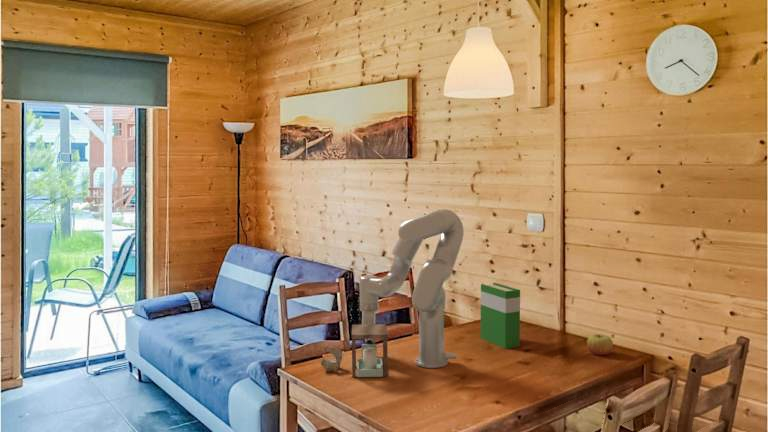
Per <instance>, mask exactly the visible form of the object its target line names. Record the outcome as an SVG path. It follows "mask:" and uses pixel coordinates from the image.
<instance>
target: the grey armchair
mask: <svg viewBox="0 0 768 432" xmlns="http://www.w3.org/2000/svg"><path fill="white" fill-rule="evenodd" d="M364 348H376V349H377V350H378V347H377V343H373V344H365V343H361V358H356V377H357V378H373V377H374V378H378V377H379V378H380V377H384V367H383V357H377V369H363V349H364Z"/></svg>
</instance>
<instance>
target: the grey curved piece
mask: <svg viewBox="0 0 768 432" xmlns="http://www.w3.org/2000/svg"><path fill="white" fill-rule="evenodd" d="M328 350H329V353H330V354H331V355H333V357H334V358H335V359H332V358H327V359H325V357H324V358H322V359H321V360H320V365H321V366H322V367H323V369H324V371H326V372H335V373H338V372H337V370H340V368H341V363H342V360H343V352H342V351H341V350H340V349H339V348H338V347H336V346H330V347H329V349H328Z"/></svg>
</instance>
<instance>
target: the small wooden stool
mask: <svg viewBox="0 0 768 432" xmlns="http://www.w3.org/2000/svg"><path fill="white" fill-rule="evenodd" d="M387 327H388V326H387V324H386V323H382V324H381V323H379V324H378V323H377V324H376V323H375V324H363V325H362V324H352V325H351V366H352V367H351V369H352V371H351V372H352V373H351V374H352V376H351V377H352V378H356V377H357V355H356V354H357V348H356V347H357V346H356V342H357V340H366V339H373V340H376V339H377V340H380V339H382V365H383V377H384V378H386V377H387V378H388V377H389V376H388V375H389V374H388V367H389V366H388V339H389V337H388V336H389V335H388V328H387Z"/></svg>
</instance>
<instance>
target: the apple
mask: <svg viewBox="0 0 768 432" xmlns="http://www.w3.org/2000/svg"><path fill="white" fill-rule="evenodd" d="M586 341H587V342H586V345H587V349H588V351H589V352H590V353H592V354H594V355H597V356H607V355H609V354H610V353H611V352H612V351H613V346H614V344H613V340H612V338H611V337H609V336H608V335H606V334H603V333H602V334H601V333H597V334H591V335H590V336H589V337H587V340H586Z"/></svg>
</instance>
